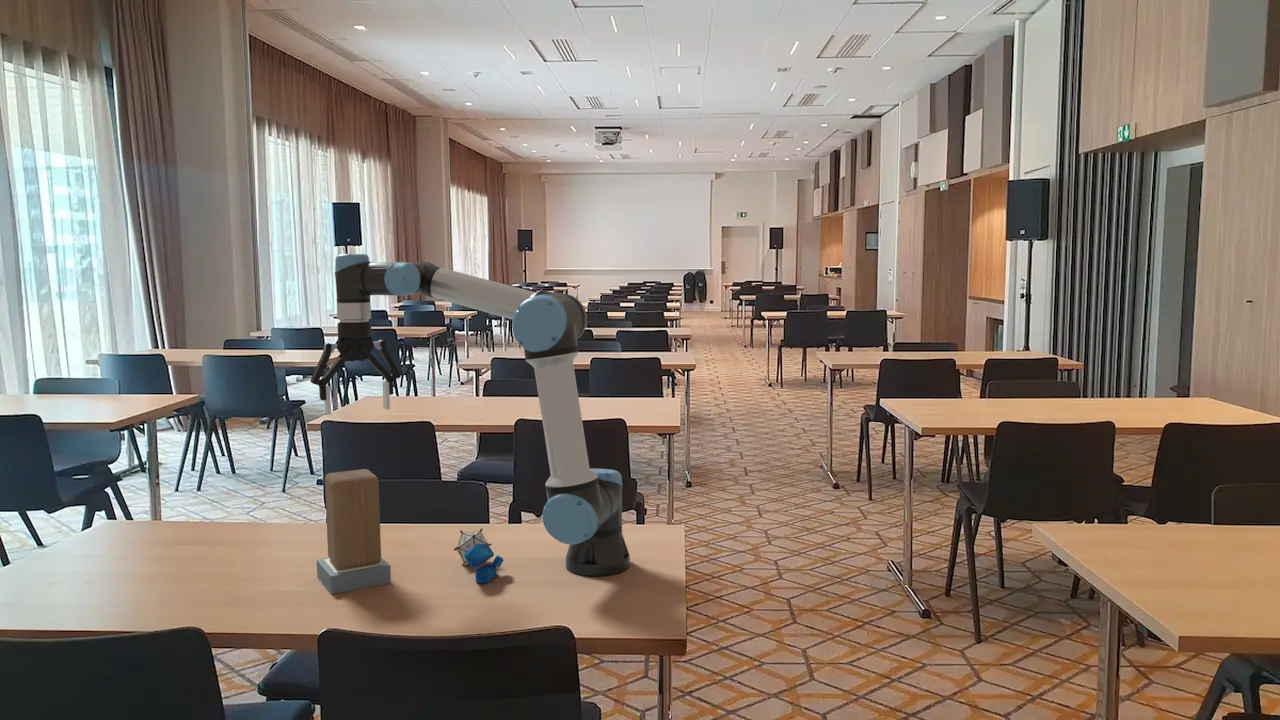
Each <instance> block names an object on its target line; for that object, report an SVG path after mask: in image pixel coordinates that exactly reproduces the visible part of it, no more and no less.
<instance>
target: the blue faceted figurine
mask: <svg viewBox="0 0 1280 720" xmlns="http://www.w3.org/2000/svg"><path fill="white" fill-rule="evenodd" d="M488 544H489V543H488ZM488 544H476V545H474V546H473V547H472V548H471V549H469V550H468V551H467V552H466V553H464V557H465V558H466V560H467V561H468V563H467V564H469V566H470V568H472V569H474V568H476V569H475V582H476V583H477V582H478V583H480V584H488V583H489V582H490V581H491V580H492V579H493V578H494V577H495V576H496V575H497V567H498V568H500V567H501V566H502V564H503V563H504V557H501V556H500V555H496V556H495V552H494V551H493V550H492V548H491V546H488ZM494 556H495V557H494ZM493 557H494V560H493V562H492V563H486V562H488V561H489V560H491V558H493ZM484 563H485V564H484ZM483 564H484V565H483ZM481 565H482V566H481ZM479 566H480V567H479ZM477 567H478V568H477Z"/></svg>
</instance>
